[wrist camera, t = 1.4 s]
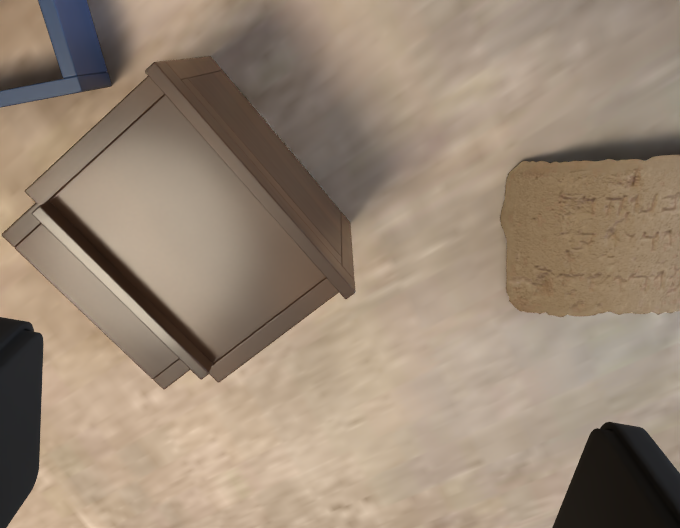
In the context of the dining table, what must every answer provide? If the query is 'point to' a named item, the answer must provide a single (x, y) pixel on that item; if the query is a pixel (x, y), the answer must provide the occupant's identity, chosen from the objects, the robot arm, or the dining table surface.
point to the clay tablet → (593, 236)
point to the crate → (66, 54)
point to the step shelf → (186, 227)
